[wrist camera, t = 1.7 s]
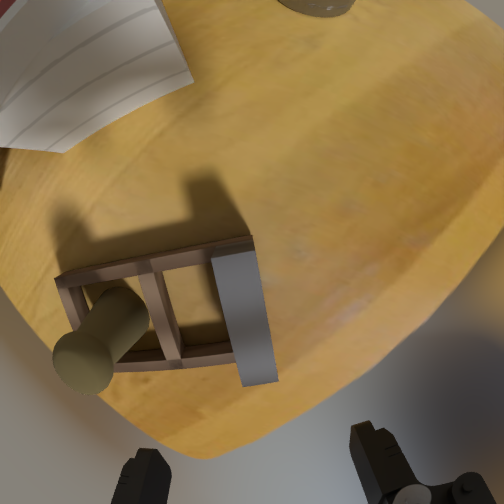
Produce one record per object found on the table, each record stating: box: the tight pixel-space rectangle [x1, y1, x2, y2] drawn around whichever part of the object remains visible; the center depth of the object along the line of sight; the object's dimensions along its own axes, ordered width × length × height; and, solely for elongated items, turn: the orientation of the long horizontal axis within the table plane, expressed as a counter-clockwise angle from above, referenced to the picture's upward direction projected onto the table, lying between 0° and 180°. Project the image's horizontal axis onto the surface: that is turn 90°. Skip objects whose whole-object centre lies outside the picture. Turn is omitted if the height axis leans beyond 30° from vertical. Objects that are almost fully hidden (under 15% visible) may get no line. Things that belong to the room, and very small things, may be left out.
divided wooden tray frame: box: [54, 235, 279, 387], centre depth 23 cm, size 11×20×6 cm, turn 100°
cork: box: [53, 287, 150, 395], centre depth 21 cm, size 6×6×11 cm
